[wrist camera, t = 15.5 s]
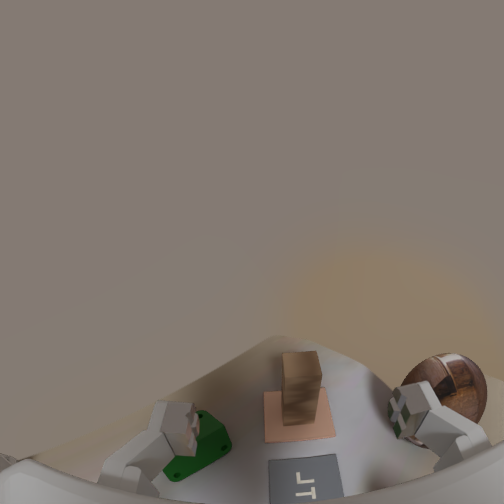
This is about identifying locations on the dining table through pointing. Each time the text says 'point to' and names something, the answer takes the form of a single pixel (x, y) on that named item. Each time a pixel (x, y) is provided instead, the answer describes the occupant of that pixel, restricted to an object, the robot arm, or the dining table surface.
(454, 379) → the brown metallic ball
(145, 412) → the dining table surface
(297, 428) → the coaster
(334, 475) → the gray tile
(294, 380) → the walnut block
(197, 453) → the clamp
